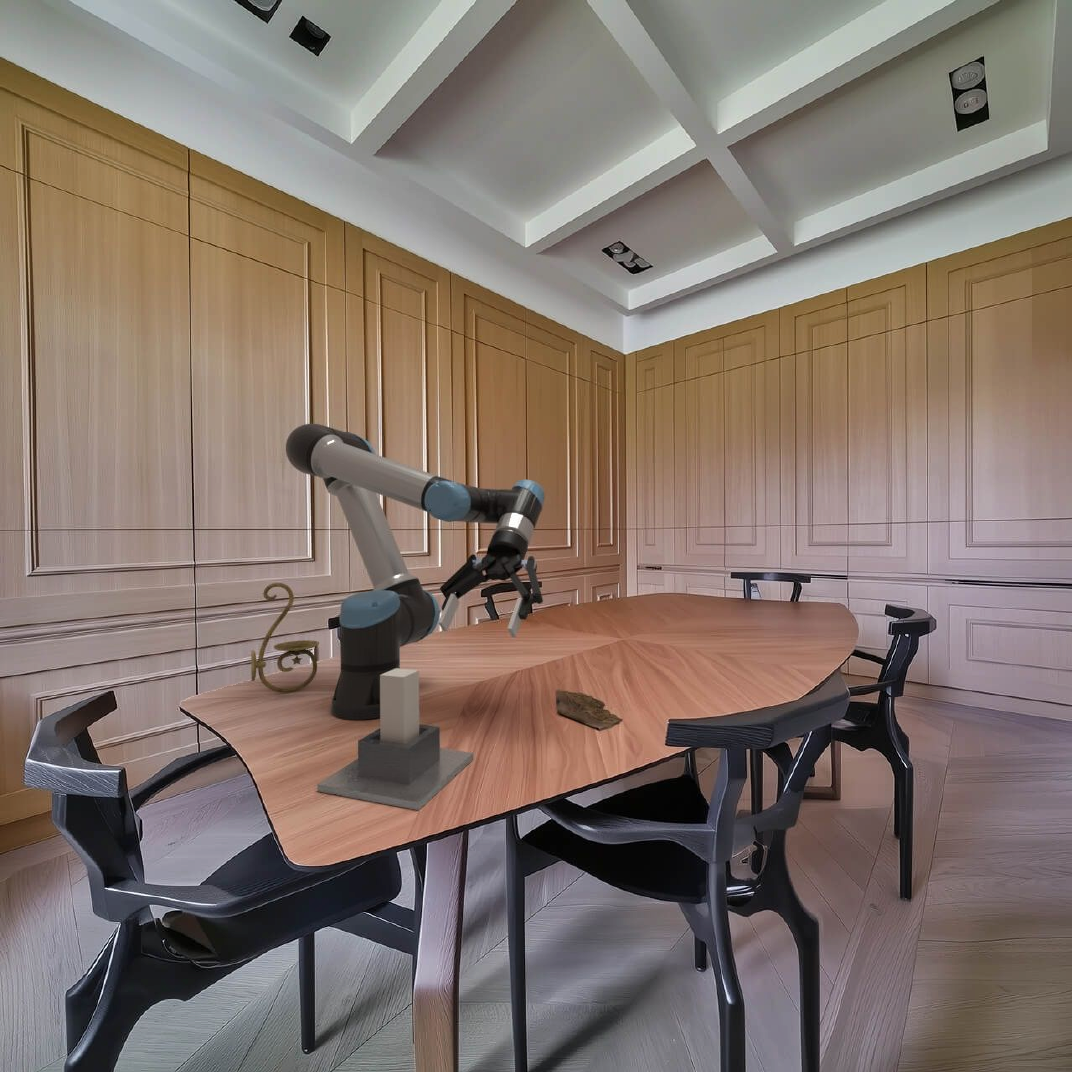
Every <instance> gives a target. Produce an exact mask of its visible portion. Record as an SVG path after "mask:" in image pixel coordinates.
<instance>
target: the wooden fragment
mask: <svg viewBox="0 0 1072 1072" xmlns="http://www.w3.org/2000/svg"><path fill="white" fill-rule="evenodd" d="M555 696H556V711H557V715H563V716H566V717H568V718H571V719H573V720H576V721H577V722H581V723H583V724H585V725H588V726H590V727H593V728H598V729H599V732H603V731H604V730H608V729H612V728H613V727H614V726H616V725H618V724H620V723H621V722H623V719H622V718H620V717H619V716H617V715H616V714H613V713H611V712H610V710H608V709H604V706H605V704H606V703H605V702H604V701H602V700H600V699H597V698H594V697H593V695H588V694H586V693H583V692H576V691H575V692H571V691H568V690H563V689H562V690H561V689H556V690H555Z"/></svg>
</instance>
